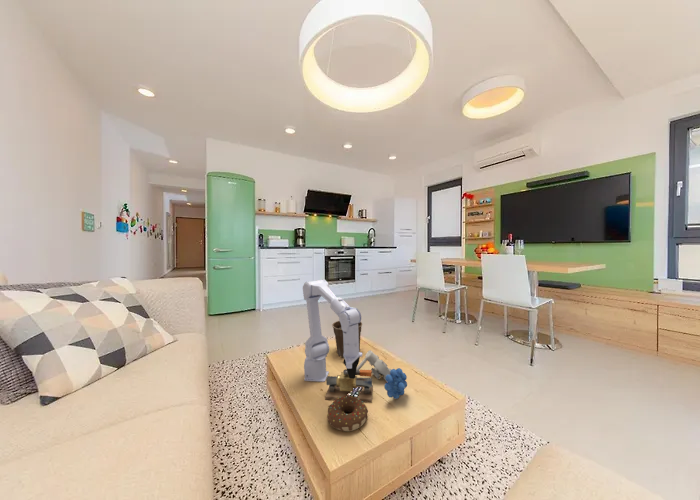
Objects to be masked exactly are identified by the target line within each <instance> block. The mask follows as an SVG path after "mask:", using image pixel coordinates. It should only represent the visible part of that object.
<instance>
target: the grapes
mask: <svg viewBox="0 0 700 500" xmlns="http://www.w3.org/2000/svg"><path fill="white" fill-rule="evenodd" d="M407 378H408V377H407V374H406V373H405V372H403V369H402V368H398V367H397V368H396V369H395V368H391V371H390V375H389V374H388V375H387V376H386V380H385V383H384V385H383V387H384V389H385V391H386V395H387V397H389V398H393V399H394V400H398V399H399V398H400V396H404V394H405V392H406V391H405V390H406V388H407V387H408V382H407Z"/></svg>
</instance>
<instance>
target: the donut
mask: <svg viewBox="0 0 700 500" xmlns="http://www.w3.org/2000/svg"><path fill="white" fill-rule="evenodd" d="M368 412H369V410H368V408H367V405H366V403H365V402H362V401H361V400H359V399H357V398H356V397H353V396H347V397H345V396H344V397H340V398H338V399H336V400H332V403H330V404H329V405H328V406H327V417H326V418H327V421H328V422H329V424H330V426H331V427H332V428H335V429H336V430H339V431H341V432H352V431H355V430H358V429H359V428H361V427H362V426H363V425H364V424H365V423H366V421H367V420H368V414H369V413H368Z"/></svg>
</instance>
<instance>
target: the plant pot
mask: <svg viewBox="0 0 700 500" xmlns="http://www.w3.org/2000/svg"><path fill="white" fill-rule="evenodd" d="M331 326H332V328H333V333H334V339H335V345H336V354H337V356H338V357H341V358H343V359H344V356H343V353H344V345H343V331H342V329H341V323H340V321H339V320H337V321H335V322H333V323H332V324H331ZM362 326H363V322H362V321H361V322H360V323H358V333H359V352H361V335H362V333H361V332H362Z"/></svg>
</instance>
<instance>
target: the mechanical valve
mask: <svg viewBox="0 0 700 500" xmlns="http://www.w3.org/2000/svg"><path fill="white" fill-rule="evenodd" d="M379 358H380V357H379V355H377V354H376V353H374V352H373V350H371V349H370V350H368V351H367V352H366V353H365V358H364V359H363V360H362V361H361V362H359V363H358V365H357V369H356V370H361V369H362V368H363V366H364V365H365V364H366V363H367V362H368V363H369V365H370V366H371V369H370V370H372V376H374V377H376V379H377V380H379V379H380V378H381V377H382V378H383V379H384V380H385V381H386V376H387V375H388V374H389V375H390V371H391V370H392V368H389V367H388V365H387V363H386V362H384V360H382V359H379ZM372 366H373V367H372ZM381 375H382V376H381Z"/></svg>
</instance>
